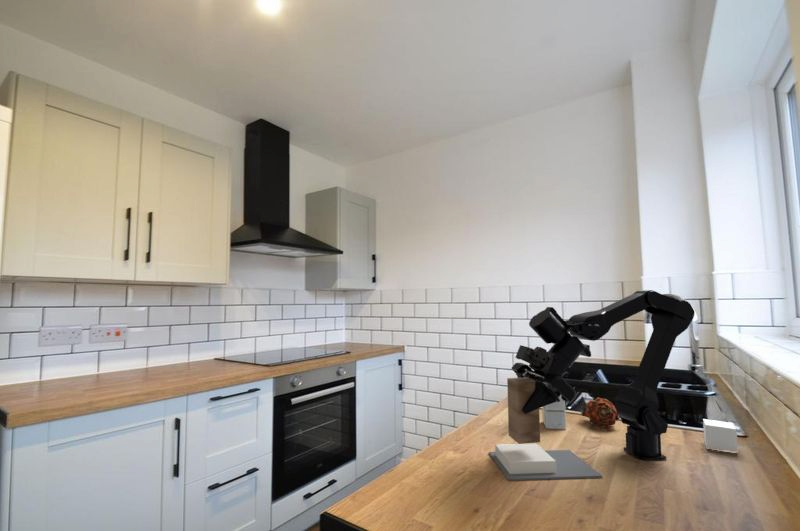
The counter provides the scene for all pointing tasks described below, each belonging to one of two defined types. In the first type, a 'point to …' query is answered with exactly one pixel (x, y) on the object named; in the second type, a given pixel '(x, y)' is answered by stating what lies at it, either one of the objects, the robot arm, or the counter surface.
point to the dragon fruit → (601, 412)
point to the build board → (562, 468)
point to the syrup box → (555, 415)
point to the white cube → (720, 435)
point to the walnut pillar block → (522, 424)
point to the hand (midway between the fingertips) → (517, 408)
